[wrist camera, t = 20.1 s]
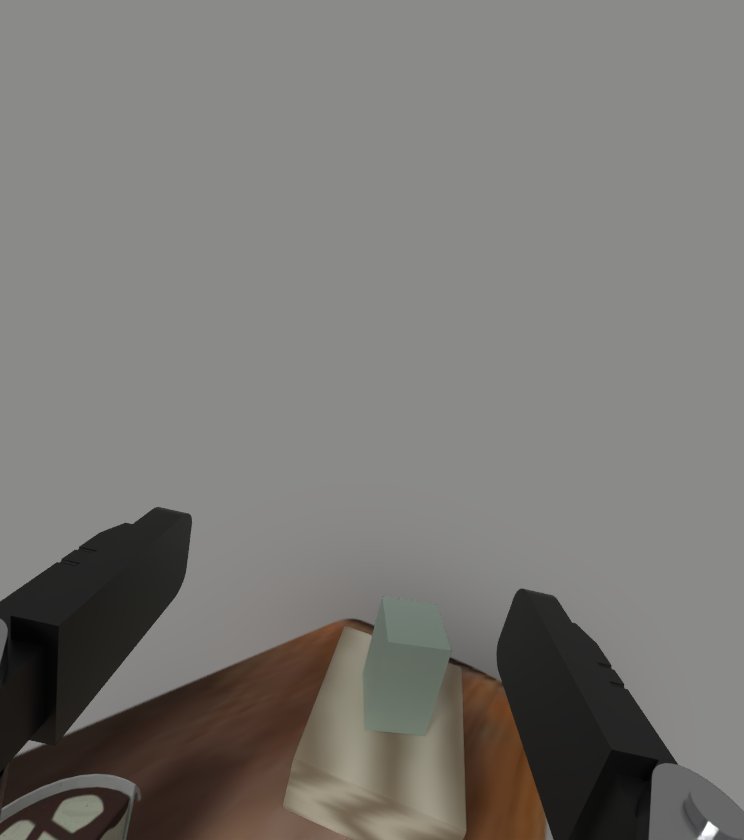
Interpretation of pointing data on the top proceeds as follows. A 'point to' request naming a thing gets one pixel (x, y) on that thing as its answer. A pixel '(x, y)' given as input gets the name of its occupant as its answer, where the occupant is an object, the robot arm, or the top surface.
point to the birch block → (379, 761)
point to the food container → (72, 810)
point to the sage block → (404, 666)
